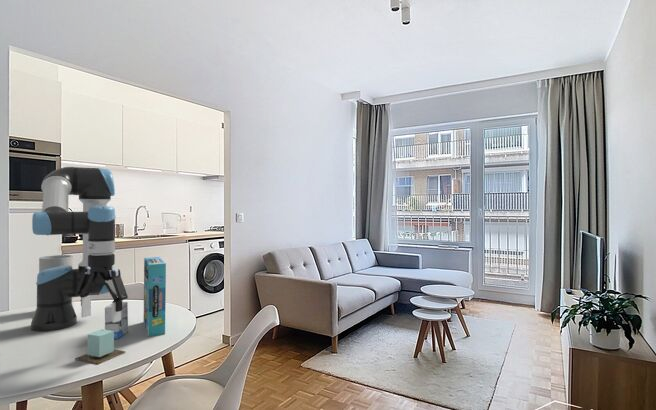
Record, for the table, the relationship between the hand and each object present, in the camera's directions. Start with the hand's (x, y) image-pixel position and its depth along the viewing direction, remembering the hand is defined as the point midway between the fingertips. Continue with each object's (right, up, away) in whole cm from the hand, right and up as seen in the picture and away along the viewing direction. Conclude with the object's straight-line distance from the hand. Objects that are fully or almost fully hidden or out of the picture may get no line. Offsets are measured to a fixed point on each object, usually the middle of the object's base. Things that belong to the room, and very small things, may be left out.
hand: (101, 318), depth 123 cm
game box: (+4, -12, +28) cm, 31 cm away
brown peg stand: (0, -12, 0) cm, 12 cm away
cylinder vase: (-51, -12, +51) cm, 73 cm away
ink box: (-6, -12, +19) cm, 23 cm away
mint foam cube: (0, -11, 0) cm, 11 cm away
